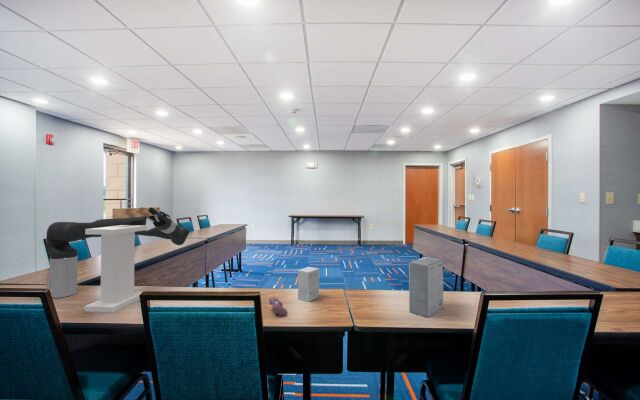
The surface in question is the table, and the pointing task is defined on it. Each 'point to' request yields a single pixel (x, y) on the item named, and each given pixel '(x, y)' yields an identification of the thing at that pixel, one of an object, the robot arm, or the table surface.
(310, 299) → the small box
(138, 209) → the baton
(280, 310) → the purple toy animal
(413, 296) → the hard drive box
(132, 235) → the plinth
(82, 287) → the table surface
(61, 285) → the robot arm
